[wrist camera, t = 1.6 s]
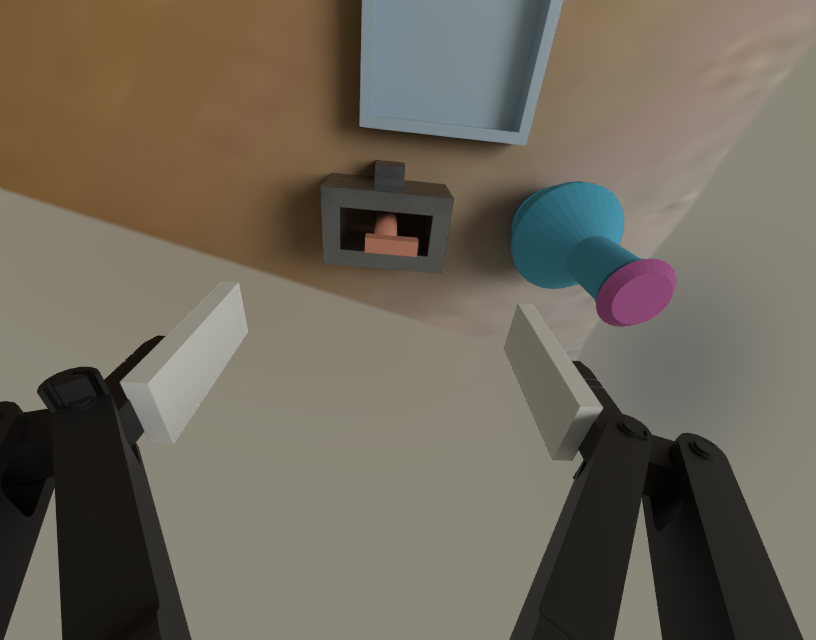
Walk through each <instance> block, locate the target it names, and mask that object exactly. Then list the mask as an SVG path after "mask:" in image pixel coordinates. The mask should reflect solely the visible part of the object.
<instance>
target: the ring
mask: <svg viewBox="0 0 816 640" xmlns="http://www.w3.org/2000/svg"><path fill="white" fill-rule="evenodd" d="M404 175H405V163H400V162H390V161H381V160H377V161H376V164H375V177H367V176H357V175H347V174H337V173H332V174H331V175H330V176H329V177H328V178H327V179H326V180H325V182H324V183H323V184H322V185H321V186H320V187H321V214H322V240H323V264H330V265H342V266H355V267H367V268H379V269H392V270H404V271H417V272H429V273H442V268H443V262H444V256H445V250H446V244H447V238H448V232H449V226H450V220H451V214H452V208H453V202H454V198H453V196H452V195H451V193H450V191H449V190H448V188H447V187H446V185H445V184H436V183H426V182H417V181H407V180H404ZM348 208H355V209H366V210H377V211H387V212H398V213H409V214H419V215H426V217H425V224H424V232H423V235H416V234H405V233H397V236H403V237H414V238H418V250H417V257H412V256H400V255H388V254H376V253H365V236H366V233H369V234H374V231H371V230H360V229H348Z"/></svg>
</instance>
